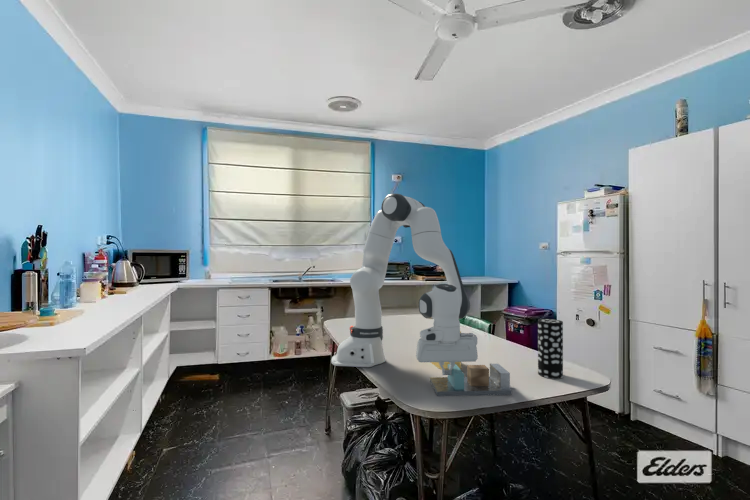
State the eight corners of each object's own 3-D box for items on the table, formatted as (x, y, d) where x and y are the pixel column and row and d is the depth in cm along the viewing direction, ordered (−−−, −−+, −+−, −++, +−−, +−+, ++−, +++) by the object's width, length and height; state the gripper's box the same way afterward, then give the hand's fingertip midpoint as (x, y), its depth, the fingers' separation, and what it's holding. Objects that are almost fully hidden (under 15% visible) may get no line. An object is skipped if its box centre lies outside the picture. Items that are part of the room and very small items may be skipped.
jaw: (454, 389, 119) (454, 374, 119) (447, 378, 129) (447, 364, 129) (464, 389, 119) (464, 373, 119) (456, 378, 129) (456, 364, 129)
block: (471, 385, 122) (471, 369, 122) (467, 381, 127) (467, 365, 127) (489, 385, 123) (489, 369, 123) (484, 380, 127) (484, 364, 127)
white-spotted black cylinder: (543, 369, 143) (543, 318, 143) (566, 374, 137) (566, 320, 137) (534, 374, 137) (534, 321, 137) (558, 380, 132) (557, 324, 132)
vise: (437, 396, 118) (437, 375, 118) (429, 381, 131) (429, 363, 131) (511, 394, 119) (511, 374, 119) (496, 380, 132) (496, 362, 132)
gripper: (474, 330, 128) (474, 370, 128) (415, 331, 127) (415, 371, 127) (480, 335, 121) (480, 377, 121) (418, 335, 121) (418, 378, 121)
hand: (446, 374), depth 124 cm, fingers closed
